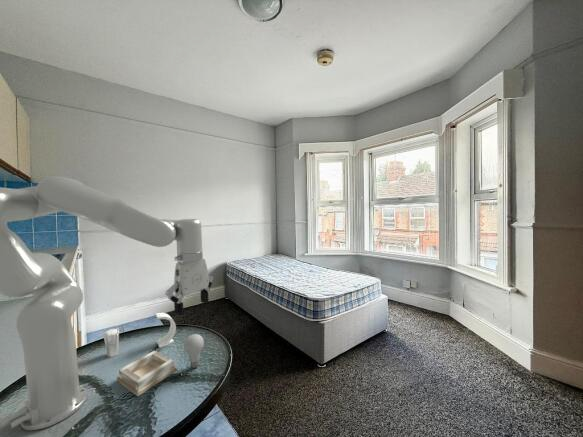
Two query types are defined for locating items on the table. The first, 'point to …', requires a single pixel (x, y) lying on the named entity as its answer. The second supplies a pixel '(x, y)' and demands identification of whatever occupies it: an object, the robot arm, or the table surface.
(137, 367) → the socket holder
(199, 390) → the table surface
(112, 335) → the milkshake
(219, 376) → the table surface
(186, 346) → the lightbulb
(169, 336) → the white curved piece
